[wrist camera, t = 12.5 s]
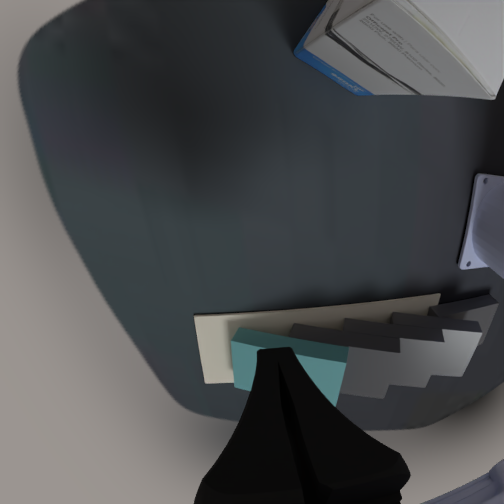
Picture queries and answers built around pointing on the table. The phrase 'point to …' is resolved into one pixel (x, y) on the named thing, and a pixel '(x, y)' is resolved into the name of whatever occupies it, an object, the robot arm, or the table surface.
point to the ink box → (409, 46)
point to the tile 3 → (406, 349)
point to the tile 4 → (447, 340)
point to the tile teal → (308, 353)
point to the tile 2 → (358, 358)
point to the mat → (289, 326)
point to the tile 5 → (469, 311)
